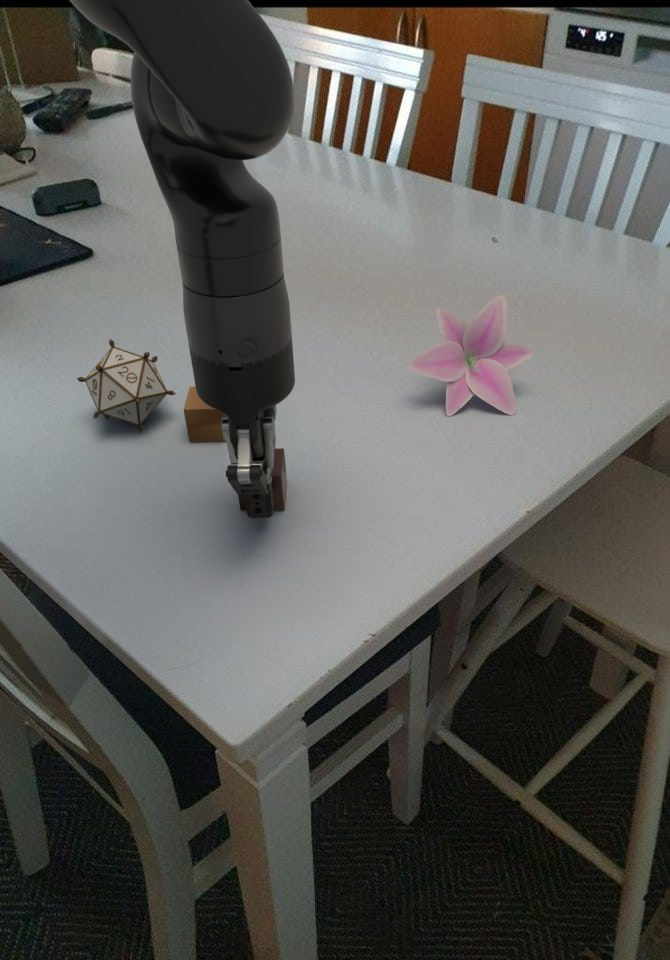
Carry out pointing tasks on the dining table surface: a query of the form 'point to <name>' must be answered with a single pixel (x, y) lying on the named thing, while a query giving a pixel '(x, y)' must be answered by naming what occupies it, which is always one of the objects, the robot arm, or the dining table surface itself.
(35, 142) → the dining table surface
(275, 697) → the dining table surface
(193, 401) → the oak block
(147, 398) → the game die
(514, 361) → the lily
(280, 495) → the walnut block
